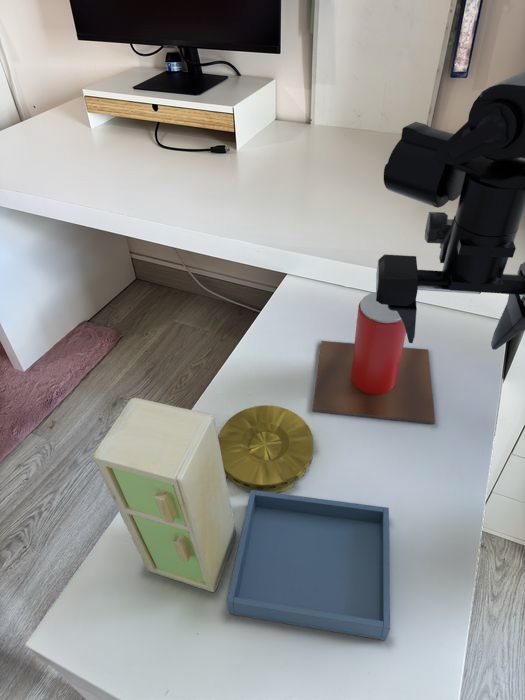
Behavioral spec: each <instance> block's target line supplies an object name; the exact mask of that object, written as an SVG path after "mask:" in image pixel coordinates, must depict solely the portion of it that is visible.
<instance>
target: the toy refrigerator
mask: <svg viewBox="0 0 525 700" xmlns="http://www.w3.org/2000/svg"><path fill="white" fill-rule="evenodd" d="M218 435H219V434H218V431H217V425H216V421H215V417H214V416H213V415H211V414H209V413H206V412H201V411H199V410H198V411H197V410H194V409H188V408H184V407H179V406H174V405H171V404H170V405H169V404H166V403H161V402H157V401H152V400H148V399H143V398H139V397H132V398H130V399H129V400H128V402H127V403H126V405H125V406H124V408H123V409H122V411H121V412H120V414H119V415H118V417H117V418H116V419H115V421H114V423H113V424H112V426H111V427H110V428H109V430H108V432H107V433H106V435H105V436H104V437H103V439H102V441H101V442H100V444H99V445H98V447H97V449H96V450H95V451H94V454H93V455H92V456H93V457H92V459H93V461H94V464H95V466H96V468H97V470H98V472H99V474H100V476H101V478H102V480H103V482H104V484H105V487H106V488H107V490H108V492H109V494H110V496H111V498H112V500H113V502H114V504H115V506H116V508H117V510H118V513H119V514H120V517H121V518H122V521H123V523H124V525H125V526H126V529H127V531H128V533H129V535H130V537H131V540H132V541H133V543H134V545H135V547H136V549H137V552H138V553H139V555H140V557H141V559H142V561H143V564H144V566H145V567H146V570H147V571H148V572H151V573H153V574H156V575H159V576H162V577H165V578H168V579H171V580H174V581H177V582H181V583H184V584H187V585H190V586H192V587H196V588H199V589H202V590H205V591H208V592H211V593H214V592H216V590H217V588H218V585H219V584H220V581H221V579H222V576H223V573H224V571H225V569H226V565H227V562H228V560H229V557H230V556H231V555H230V554H231V552H232V549H233V547H234V544H235V541H236V539H237V531H236V524H235V520H234V514H233V510H232V503H231V498H230V492H229V487H228V483H227V478H226V477H225V472H224V467H223V461H222V456H221V450H220V445H219V440H218Z"/></svg>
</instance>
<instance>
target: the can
mask: <svg viewBox="0 0 525 700" xmlns="http://www.w3.org/2000/svg"><path fill="white" fill-rule="evenodd" d="M406 337H407V333H406V329H405V326H404V323H403V321H402V319H401V317H400V315H399V314H398V312H397V311H392V310H390V309H389V308H388V305H384V304H380V303H379V302H377V301H376V291H374V292H371V293H369V294H367V295H365V296H363V297H362V299H361V300H360V301H359V302H358V305H357V315H356V324H355V335H354V352H353V361H352V370H351V380H352V382H353V384H354V385H355V386H356V387H357V388H358V389H359V390H361V391H363V392H365V393H369V394H384V393H387V392H389V391H390V390H392V389H393V388H394V386H395V385H396V381H397V376H398V371H399V366H400V361H401V356H402V351H403V347H404V345H405V340H406Z"/></svg>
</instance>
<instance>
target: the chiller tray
mask: <svg viewBox="0 0 525 700" xmlns="http://www.w3.org/2000/svg"><path fill="white" fill-rule="evenodd" d="M249 490H250V489H249ZM390 569H391V568H390V508H389V507H386V506H379V505H371V504H364V503H356V502H349V501H342V500H341V501H340V500H333V499H325V498H317V497H311V496H310V497H308V496H302V495H295V494H294V495H293V494H286V493H271V492H264V491H255V490H250V491H249V496H248V500H247V505H246V510H245V514H244V519H243V524H242V528H241V532H240V537H239V541H238V547H237V551H236V557H235V561H234V565H233V571H232V575H231V580H230V585H229V589H228V593H227V598H226V605H227V609H228V613H229V615H234V616H241V617H247V618H251V619H252V618H253V619H256V620H257V619H258V620H264V621H270V622H274V623H281V624H287V625H293V626H299V627H303V628H304V627H305V628H309V629H316V630H317V629H318V630H322V631H329V632H333V633H340V634H346V635H352V636H356V637H357V636H358V637H364V638H370V639H376V640H382V641H387V638H388V637H389V633H390V630H391V586H390V585H391V578H390Z"/></svg>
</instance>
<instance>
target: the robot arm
mask: <svg viewBox="0 0 525 700" xmlns="http://www.w3.org/2000/svg"><path fill="white" fill-rule="evenodd" d="M383 184H384V187H385V188H386V189H387V190H388V191H389V192H392V193H395V194H398V195H401V196H403V197H405V198H409V199H411V200H414V201H417V202H420V203H423V204H425V205H428V206H431V207H433V208H441V207H444V206H445V205H446V204H447V203H448V202H454V201H456V200H457V199H458V203H457V207H456V212H455V215H454V216H453V218H449V214H447V213H446V212H445V211H444V212H441V211H428V214H427V220H426V224H425V230H424V240H425V242H426V243H427V244H439V249H440V252H439V256H438V258H439V259H438V260H439V264H443V266H442V270H431V269H418V262H417V261H418V260H417V255H404V254H403V255H402V254H383V255H382V256H381V257H379V259H378V260H377V266H376V273H375V274H376V275H375V286H376V287H375V292H376V301H377V302H379V303H380V304H384V305H388V308H389V309H390V310H392V311H397V312H398V314H399V315H400V317H401V319H402V321H403V323H404V326H405V329H406V337H407V341H408V344H413V342H414V340H415V337H416V326H417V325H416V323H417V312H418V311H417V310H418V308H417V306H418V305H417V295H418V291H424V292H425V291H427V292H441V293H443V292H444V293H460V294H474V295H480V294H482V293H488V294H501V295H508V297H507V302H506V304H505V307H504V309H503V311H502V314H501V316H500V318H499V321H498V322H497V325H496V327H495V329H494V332H493V335H492V339H491V343H490V347H491V348H492V351H493V350H495V351H496V350H497V349H499V348H501V347H502V346H503V345H505V344H506V343H507V342H508V341H510V340H512V339H513V338H514V337H516V336H517V335H519V334H520V333H522V332H524V331H525V261H524V262H522V263H520V265H519V267H518V270H517V273H504V272H505V269H506V266H507V263H508V260H509V259H510V258H511V259H512V258H514V255H515V252H516V250H517V247H516V244H515V239H516V237H517V233H518V231H519V228H520V225H521V222H522V219H523V216H524V213H525V70H523V71H521V72H519V73H517V74H515V75H513V76H511V77H509V78H506V79H503V80H502V81H500V82H498V83H495V84H493V85H491V86H489V87H487V88H486V89H484V90H482V91H481V93H480V94H479V95H478V96H477V98H476V99H475V100H474V101H473V103H472V105H471V107H470V110H469V112H468V119H467V122H465V123H464V124H463V125H462V126H461V127H460V128H459V129H458V130H457V131H456V132H455V133H451V132H448V131H445V130H441V129H438V128H434V127H431V126H429V125H428V124H425V123H422V122H419V121H413V122H412V123H410V124H408V125H406V126H403V127H402V130H401V137H400V139H399V140H398V142H397V143H396V144H395V146H394V148H393V149H392V151H391V153H390V155H389V158H388V161H387V163H386V164H385V165H384V168H383Z"/></svg>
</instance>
